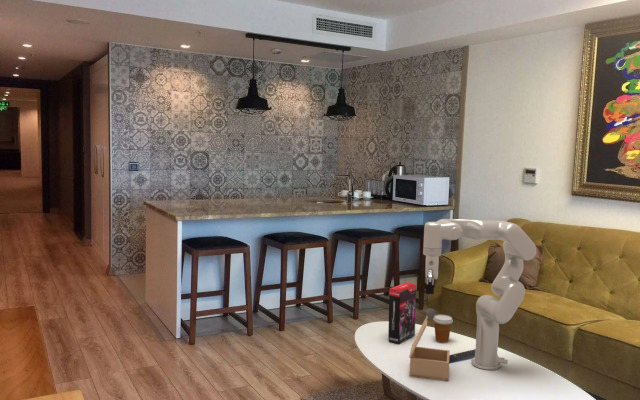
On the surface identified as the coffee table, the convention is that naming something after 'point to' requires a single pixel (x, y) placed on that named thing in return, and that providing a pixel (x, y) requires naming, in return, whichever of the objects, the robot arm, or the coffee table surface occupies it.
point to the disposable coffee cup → (442, 327)
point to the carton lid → (422, 329)
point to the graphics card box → (402, 312)
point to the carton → (430, 363)
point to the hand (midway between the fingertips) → (430, 290)
